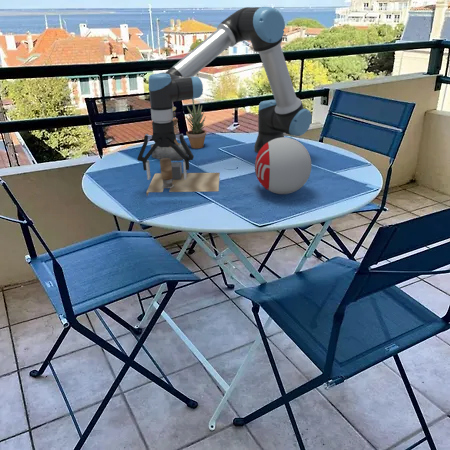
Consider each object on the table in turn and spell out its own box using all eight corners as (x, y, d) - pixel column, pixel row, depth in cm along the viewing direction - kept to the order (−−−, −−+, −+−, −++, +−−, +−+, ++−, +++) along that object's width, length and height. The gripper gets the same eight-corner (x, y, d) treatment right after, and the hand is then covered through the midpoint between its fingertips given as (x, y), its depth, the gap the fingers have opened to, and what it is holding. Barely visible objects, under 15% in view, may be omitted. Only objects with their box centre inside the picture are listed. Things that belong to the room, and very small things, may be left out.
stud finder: (182, 174, 178) (181, 161, 176) (180, 179, 173) (179, 166, 171) (164, 174, 178) (163, 161, 176) (162, 179, 173) (161, 166, 171)
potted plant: (189, 143, 223) (186, 92, 212) (208, 144, 222) (206, 92, 211) (185, 149, 214) (182, 96, 203) (204, 150, 213) (202, 96, 202)
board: (219, 176, 180) (219, 172, 179) (218, 195, 162) (218, 191, 161) (155, 176, 180) (154, 173, 180) (146, 196, 162) (146, 192, 162)
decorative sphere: (253, 182, 173) (254, 131, 164) (305, 182, 172) (309, 130, 163) (255, 203, 155) (256, 146, 146) (313, 202, 154) (317, 146, 145)
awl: (173, 183, 169) (171, 157, 164) (172, 187, 165) (170, 161, 161) (163, 183, 169) (160, 158, 164) (161, 187, 165) (159, 161, 161)
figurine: (189, 157, 203) (186, 101, 192) (171, 163, 196) (167, 105, 185) (169, 151, 212) (165, 97, 201) (151, 157, 204) (145, 101, 193)
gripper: (199, 117, 159) (201, 174, 169) (129, 118, 160) (135, 175, 169) (197, 122, 153) (200, 181, 162) (124, 123, 153) (131, 182, 163)
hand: (167, 178), depth 166 cm, fingers open, 13 cm apart
